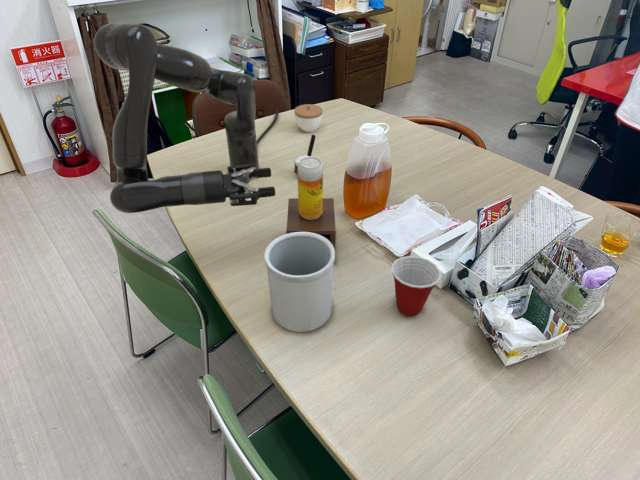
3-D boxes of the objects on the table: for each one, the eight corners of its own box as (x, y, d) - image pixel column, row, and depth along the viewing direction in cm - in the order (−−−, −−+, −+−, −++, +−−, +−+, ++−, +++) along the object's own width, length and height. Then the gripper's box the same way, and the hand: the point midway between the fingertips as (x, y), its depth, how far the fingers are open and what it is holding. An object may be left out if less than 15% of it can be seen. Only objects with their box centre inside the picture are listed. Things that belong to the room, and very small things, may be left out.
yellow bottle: (319, 222, 115) (320, 170, 105) (296, 219, 116) (294, 167, 106) (324, 208, 119) (325, 157, 110) (301, 205, 120) (300, 154, 111)
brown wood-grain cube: (290, 230, 130) (288, 198, 123) (332, 230, 130) (333, 198, 123) (288, 264, 119) (286, 230, 112) (334, 263, 119) (335, 230, 112)
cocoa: (296, 181, 150) (295, 147, 142) (288, 172, 154) (287, 139, 147) (322, 173, 154) (322, 141, 146) (313, 165, 158) (313, 133, 150)
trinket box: (312, 137, 174) (312, 114, 168) (289, 130, 178) (288, 107, 172) (327, 127, 181) (328, 104, 175) (305, 120, 185) (304, 97, 179)
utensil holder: (257, 304, 108) (251, 247, 97) (309, 278, 115) (308, 222, 104) (292, 345, 99) (289, 288, 88) (346, 314, 106) (349, 257, 95)
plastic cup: (435, 296, 111) (444, 259, 103) (428, 329, 103) (437, 292, 95) (391, 285, 113) (396, 248, 106) (381, 317, 105) (386, 279, 98)
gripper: (200, 191, 99) (275, 183, 102) (201, 158, 110) (268, 152, 113) (206, 219, 104) (277, 211, 107) (205, 185, 115) (270, 179, 117)
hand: (272, 181), depth 110 cm, fingers open, 8 cm apart
